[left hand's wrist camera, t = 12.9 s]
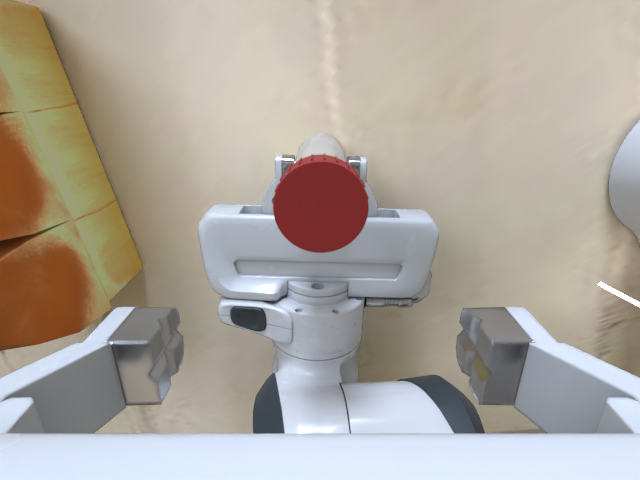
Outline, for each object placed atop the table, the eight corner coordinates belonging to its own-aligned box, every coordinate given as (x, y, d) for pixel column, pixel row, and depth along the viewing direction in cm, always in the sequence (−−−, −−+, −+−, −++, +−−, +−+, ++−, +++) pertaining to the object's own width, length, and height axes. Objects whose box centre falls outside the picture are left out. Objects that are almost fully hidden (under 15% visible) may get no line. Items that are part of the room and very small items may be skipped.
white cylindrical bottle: (314, 188, 37) (309, 257, 22) (288, 149, 36) (264, 195, 21) (352, 163, 36) (375, 217, 21) (327, 123, 35) (333, 150, 20)
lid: (308, 254, 24) (307, 270, 22) (258, 185, 22) (252, 195, 20) (381, 211, 23) (387, 222, 21) (334, 134, 21) (336, 139, 19)
